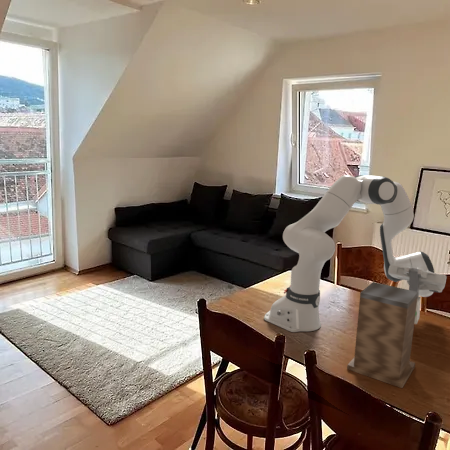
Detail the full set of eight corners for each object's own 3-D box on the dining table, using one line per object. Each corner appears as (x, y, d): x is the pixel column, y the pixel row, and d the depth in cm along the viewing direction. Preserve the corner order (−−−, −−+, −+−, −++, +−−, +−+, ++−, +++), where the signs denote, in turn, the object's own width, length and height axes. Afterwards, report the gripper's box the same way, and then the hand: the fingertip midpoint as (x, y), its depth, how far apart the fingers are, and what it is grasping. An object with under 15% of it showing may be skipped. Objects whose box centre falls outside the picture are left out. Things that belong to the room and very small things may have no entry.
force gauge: (407, 315, 171) (404, 321, 168) (409, 267, 162) (406, 273, 159) (419, 318, 168) (416, 324, 165) (422, 269, 159) (419, 275, 156)
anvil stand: (347, 369, 138) (353, 292, 133) (363, 350, 150) (370, 279, 144) (402, 388, 129) (412, 306, 123) (414, 366, 140) (424, 291, 135)
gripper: (393, 266, 175) (386, 257, 164) (449, 277, 163) (445, 268, 152) (390, 281, 174) (382, 273, 163) (446, 293, 162) (441, 285, 151)
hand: (413, 270), depth 158 cm, fingers closed on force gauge, 3 cm apart
